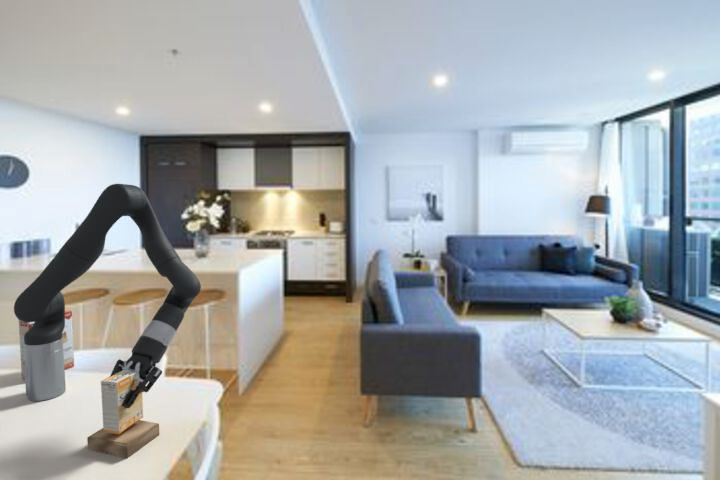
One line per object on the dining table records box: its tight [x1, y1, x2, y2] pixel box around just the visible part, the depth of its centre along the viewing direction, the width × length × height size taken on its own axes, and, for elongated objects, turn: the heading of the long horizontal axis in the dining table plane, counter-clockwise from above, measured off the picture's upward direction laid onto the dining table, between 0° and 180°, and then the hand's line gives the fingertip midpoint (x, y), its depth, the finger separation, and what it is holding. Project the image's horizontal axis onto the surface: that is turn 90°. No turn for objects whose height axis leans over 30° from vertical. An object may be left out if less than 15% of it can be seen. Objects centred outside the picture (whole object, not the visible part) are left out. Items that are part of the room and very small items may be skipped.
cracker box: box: [18, 309, 75, 380], centre depth 141 cm, size 14×6×21 cm, turn 158°
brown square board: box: [86, 419, 160, 459], centre depth 102 cm, size 12×10×3 cm
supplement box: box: [100, 369, 144, 434], centre depth 101 cm, size 8×5×13 cm, turn 168°
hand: (116, 404), depth 100 cm, fingers closed on supplement box, 5 cm apart
